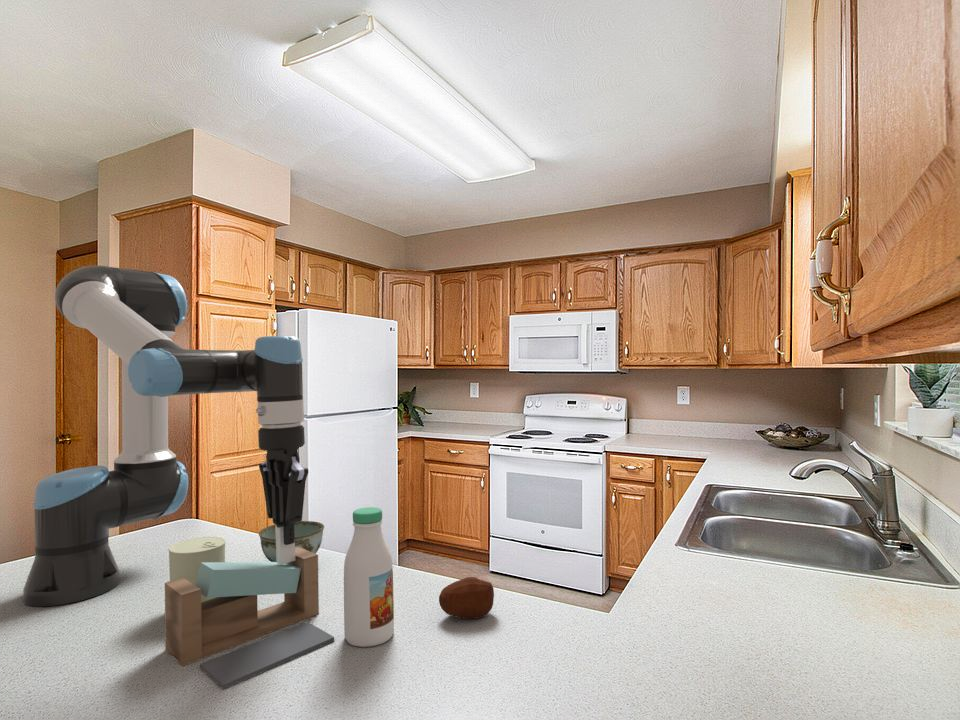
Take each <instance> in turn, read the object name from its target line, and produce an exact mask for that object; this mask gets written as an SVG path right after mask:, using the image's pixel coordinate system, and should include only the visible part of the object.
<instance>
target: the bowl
mask: <svg viewBox="0 0 960 720" xmlns="http://www.w3.org/2000/svg"><path fill="white" fill-rule="evenodd" d="M324 530H325V525H324V524H323V523H321V522H318V521H311V520H302V521H299V522H297V523H295V525H294V532H295V547H297V546H298V547H300V548H303V549H305V550H308V551H310V552H312V553H315V554H318V551H319V549H320V548H321V544H322V541H323V535H324ZM258 536H259V538H260V546H261V551H262V552H263V555H264V556H265V558H266V559H267V560H268V562H277V561H276V532H275V524H271V525H269V526H266V527H264V528H262V529H261V530H259V532H258Z"/></svg>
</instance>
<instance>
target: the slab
mask: <svg viewBox="0 0 960 720" xmlns="http://www.w3.org/2000/svg"><path fill="white" fill-rule="evenodd" d="M300 572H301V568H299V567H297V566H295V565H293V564H290V563H286V564H282V565H280V564H277V562H271V561H236V562H235V561H230V562H228V561H227V562H226V561H225V562H201V564H200V568H199V572H198V576H197V580H196V584H195V586H197V587H198V588H200V589H201V594H202V595H204V596H205V597H207V598H209V597H228V596H247V595H257V596H261V595H262V596H264V595H281V594H285V593H296V590H297V586H298V581H299V576H300Z"/></svg>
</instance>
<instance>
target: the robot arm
mask: <svg viewBox="0 0 960 720" xmlns="http://www.w3.org/2000/svg"><path fill="white" fill-rule="evenodd" d="M186 295H187V294H186V293H185V290H184V288H183V287H182V285H181V284H180V283H179V281H178V280H177V279H176V278H175V277H173V276H171V275H169V274H163V273H158V272H155V271H147V270H146V271H145V270H138V269H131V268H130V269H128V268H122V267H113V266H108V265H107V266H106V265H87V266H82V267H79V268H76V269H74V270H71V271H70V272H68V273H67V274H66V275H64V277H62V279H60V281H59V283H58V284H57V286H56V288H55V293H54V301H55V305H56V307H57V310H58V311H59V313H60V314H61V315H62V317H64V318H65V319H66V320H67V321H68V322H69V323H71V324H72V325H74V326H75V327H78V328H81V329H86V330H87V331H89V333H91V334H92V335H93V336H94V337H96V339H98V340H99V341H100V342H101V343H103V344H104V345H105V346H106V347H107V348H108V349H109V350H111V351H112V352H113V353H114V354H115V355H116V356H118V357H119V358H120V359H121V407H122V408H121V417H122V418H121V421H122V423H121V424H122V425H121V427H122V429H121V431H122V439H121V440H122V442H121V444H122V446H121V447H122V449H121V450H122V451H121V453H120V454H119V455H118V456H117V457H116V458H115V459H114V460H113V470H111V471H109V469H108V467H106V465H105V466H104V465H90V466H89V465H88V466H86V467H76V468H72V469H68V470H67V469H66V470H64V471H59V472H57V473H53V474H52V475H49V476H46V477H45V478H43V479H41V480H40V481H39V482H38V483H37V484H36V486H35V491H34V501H33V504H32V505H33V509H34V559H33V563H32V564H31V568H30V570H29V574H28V576H27V579H26V582H25V584H24V586H23V592H22V594H23V598H22V599H23V603H24V604H25V605H27V606H31V607H51V606H53V607H55V606H60V605H67V604H72V603H76V602H80V601H84V600H88V599H91V598H93V597H94V598H95V597H97V596H99V595H102V594H104V593H106V592H109V591H110V590H111V591H112V589H114V588H115V587H117V585H119V583H120V569H119V566H118V564H117V562H116V560H115V557H114V555H113V552H112V550H111V548H110V543H109V531H110V529H114V528H118V527H122V526H126V525H132V524H134V523H140V522H143V521H144V522H145V521H149V520H157V519H159V518H162V517H164V516H168V515H171V514H173V513H175V512H176V511H178V510H179V509H180V507H181V506H182V505H183V504H184V502H185V500H186V497H187V495H188V489H189V476H188V473H187V469H186V467H185V465H184V464H183V463H182V462H180V461H178V460H177V454H176V453H174V452H173V451H172V450H170V448H169V397H170V396H183V395H185V396H186V395H199V394H219V393H223V394H224V393H243V392H244V393H245V392H256V401H257V408H256V409H255V413H256V414H257V423H258V425H259V426H261V427H260V428H259V429H258V430H257V435H258V436H257V437H258V448H259V449H260V450H261V451H264V452H266V455H265V459H266V460H265V461H264V462H260V463H259V464H258V467H259V471H260V474H261V479H262V486H263V492H264V493H263V494H264V501H265V507H266V514H267V518H268V519H272V523H273V525H275V532H276V561H277V564H280V565H282V564H286V563H289V562H292V561H295V532H294V525H295V523H297V522H299V521H303V513H304V512H303V511H304V503H305V492H306V491H305V490H306V480H307V478H308V475H309V468H308V467H302V466H301V464H300V460H301V459H300V456H299V451H298V449H299V448H302V447H303V446H305V443H306V440H305V427H304V425H303V424H302V423H303V422H304V421H305V411H304V409H305V407H304V389H303V385H304V384H303V381H304V380H303V361H304V359H303V356H302V355H303V354H302V345H301V341H300V339H299V338H298V337H296V336H292V335H290V336H289V335H269V336H267V335H266V336H260V337H258V338H256V340H255V346H254V349H249V350H245V349H244V350H239V349H238V350H235V349H234V350H233V349H232V350H231V349H229V350H228V349H227V350H226V349H224V350H223V349H222V350H221V349H186V348H183V347H182V346H180V345H179V344H178V343H176V342H175V341H173V340H172V339H171V338H173V337H174V335H176V328H177V327H179V326H180V325H183V323H184V321H185V319H186V317H185V316H187V313H188V301H187V296H186Z"/></svg>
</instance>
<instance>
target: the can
mask: <svg viewBox="0 0 960 720" xmlns="http://www.w3.org/2000/svg"><path fill="white" fill-rule="evenodd" d="M168 558H169V560H168V563H169V564H168V565H169V567H168V568H169V582H170V581H174V580H177V579H181V578H185V579H186V580H188V581H189V582H191V583H192V584H194V585H195V584H196V580H197V576H198V572H199V568H200V564H201V562H226V539H225V538H222V537H218V536H204V537H201V536H200V537H195V538H190V539H189V538H188V539H185V540H182V541H179V542H176V543H174V544H172V545H170V546H169V547H168ZM213 598H216V597H209V598H207V597H205V596H204V595H202V594H201V602H204V601H207V600H210V599H213Z"/></svg>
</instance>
